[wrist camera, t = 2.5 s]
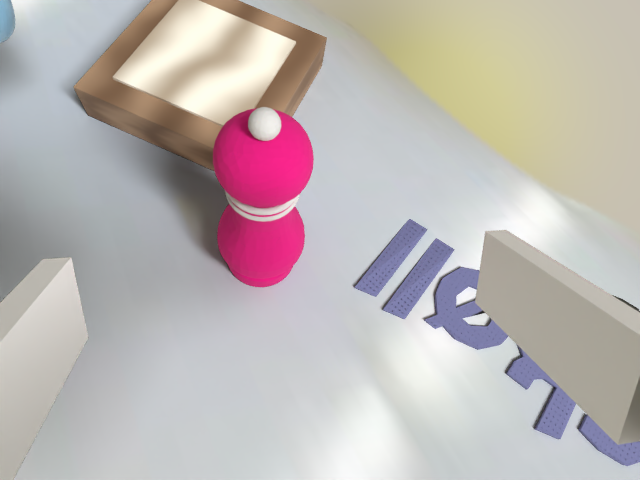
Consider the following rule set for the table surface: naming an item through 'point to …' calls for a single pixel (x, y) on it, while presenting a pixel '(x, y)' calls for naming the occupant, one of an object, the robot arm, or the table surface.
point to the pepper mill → (262, 193)
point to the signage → (475, 329)
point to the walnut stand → (199, 72)
